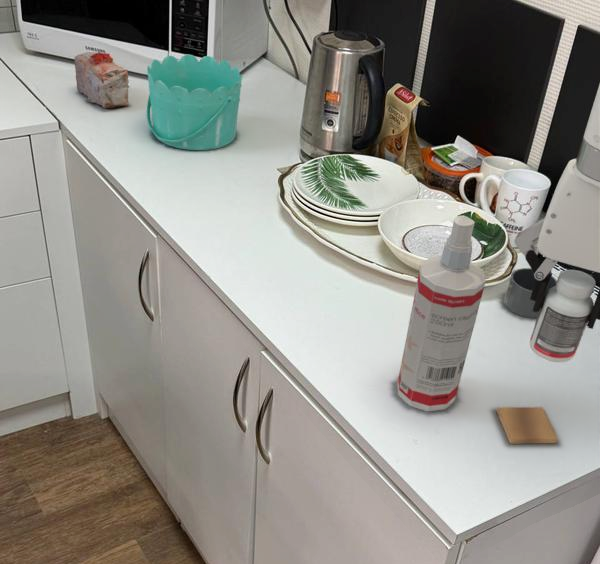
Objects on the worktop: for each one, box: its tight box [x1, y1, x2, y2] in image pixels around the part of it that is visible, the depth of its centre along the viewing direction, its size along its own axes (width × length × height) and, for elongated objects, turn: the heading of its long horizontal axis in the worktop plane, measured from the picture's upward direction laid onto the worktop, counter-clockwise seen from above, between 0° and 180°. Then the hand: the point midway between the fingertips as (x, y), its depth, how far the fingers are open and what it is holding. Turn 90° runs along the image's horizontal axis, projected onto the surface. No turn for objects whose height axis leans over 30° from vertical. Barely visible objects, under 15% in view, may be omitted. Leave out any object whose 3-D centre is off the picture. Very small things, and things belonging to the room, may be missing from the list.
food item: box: [74, 51, 130, 109], centre depth 173 cm, size 14×8×10 cm, turn 41°
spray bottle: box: [397, 214, 487, 412], centre depth 98 cm, size 8×8×25 cm
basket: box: [146, 53, 243, 151], centre depth 161 cm, size 19×18×13 cm
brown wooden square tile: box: [496, 406, 558, 445], centre depth 102 cm, size 6×6×1 cm
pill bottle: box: [529, 269, 597, 363], centre depth 91 cm, size 5×5×10 cm
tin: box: [503, 267, 557, 319], centre depth 123 cm, size 7×7×4 cm
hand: (564, 313), depth 91 cm, fingers closed on pill bottle, 5 cm apart
